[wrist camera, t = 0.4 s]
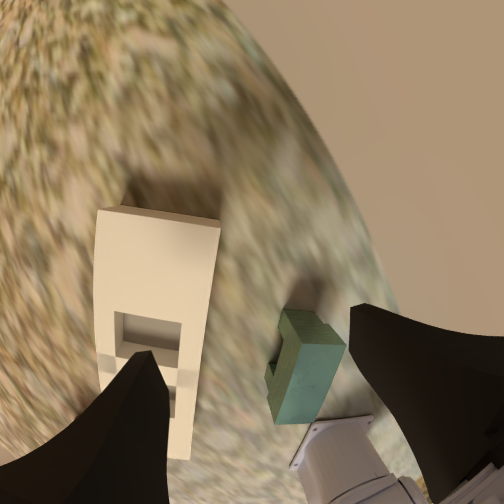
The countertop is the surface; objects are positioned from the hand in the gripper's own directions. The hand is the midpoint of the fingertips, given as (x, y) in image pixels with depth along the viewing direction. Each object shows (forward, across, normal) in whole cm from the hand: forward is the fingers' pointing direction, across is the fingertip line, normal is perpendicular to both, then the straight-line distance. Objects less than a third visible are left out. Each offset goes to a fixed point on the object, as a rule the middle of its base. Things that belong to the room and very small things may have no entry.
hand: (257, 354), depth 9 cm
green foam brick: (+10, -3, +8) cm, 13 cm away
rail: (+10, +7, +5) cm, 14 cm away
